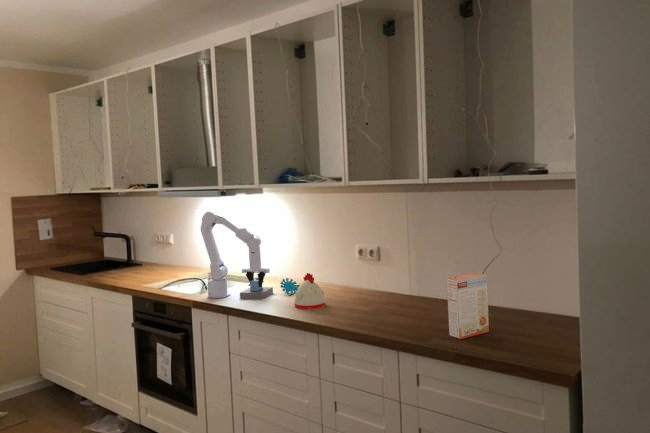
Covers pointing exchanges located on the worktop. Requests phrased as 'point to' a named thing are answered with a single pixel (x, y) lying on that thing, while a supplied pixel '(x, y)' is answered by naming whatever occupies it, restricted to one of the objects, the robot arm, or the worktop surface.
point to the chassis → (256, 293)
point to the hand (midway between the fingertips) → (256, 286)
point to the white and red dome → (309, 294)
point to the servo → (255, 285)
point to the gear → (289, 286)
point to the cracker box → (467, 305)
